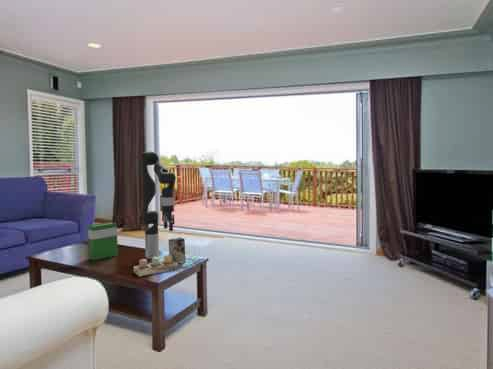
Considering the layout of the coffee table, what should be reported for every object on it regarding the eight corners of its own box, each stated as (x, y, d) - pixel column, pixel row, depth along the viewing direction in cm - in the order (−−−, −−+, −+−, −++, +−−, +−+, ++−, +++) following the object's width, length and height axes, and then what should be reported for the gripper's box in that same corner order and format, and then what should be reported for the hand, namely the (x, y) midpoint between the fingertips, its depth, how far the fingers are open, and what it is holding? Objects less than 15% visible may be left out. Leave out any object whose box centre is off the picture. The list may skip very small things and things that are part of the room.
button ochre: (163, 263, 239) (162, 255, 238) (169, 262, 241) (169, 254, 241) (165, 264, 235) (165, 257, 235) (172, 263, 237) (172, 256, 237)
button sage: (151, 265, 234) (150, 257, 234) (158, 264, 237) (157, 256, 236) (153, 267, 230) (153, 259, 230) (160, 265, 233) (160, 258, 233)
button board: (133, 271, 231) (133, 266, 231) (171, 264, 245) (171, 259, 245) (139, 276, 222) (139, 270, 222) (178, 268, 236) (177, 263, 236)
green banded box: (113, 253, 276) (111, 221, 274) (117, 255, 271) (116, 223, 269) (89, 258, 263) (87, 225, 261) (94, 260, 258) (92, 226, 256)
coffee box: (181, 260, 256) (180, 237, 255) (185, 262, 251) (185, 238, 249) (169, 262, 250) (168, 239, 249) (173, 264, 245) (172, 240, 244)
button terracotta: (138, 267, 230) (138, 259, 229) (145, 266, 232) (145, 258, 232) (140, 269, 226) (140, 261, 226) (148, 268, 229) (148, 260, 228)
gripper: (157, 203, 236) (158, 228, 237) (166, 206, 224) (167, 232, 226) (168, 202, 240) (169, 227, 242) (177, 205, 228) (178, 231, 230)
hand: (168, 229), depth 234 cm, fingers open, 8 cm apart
